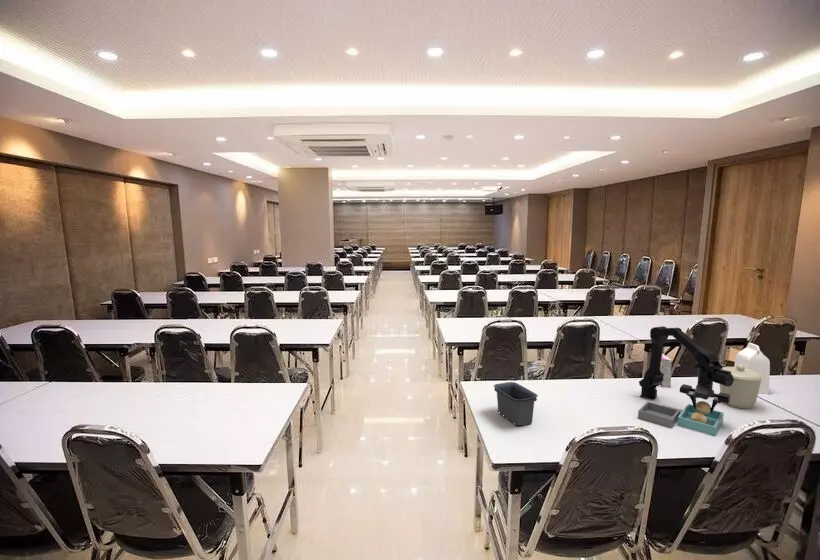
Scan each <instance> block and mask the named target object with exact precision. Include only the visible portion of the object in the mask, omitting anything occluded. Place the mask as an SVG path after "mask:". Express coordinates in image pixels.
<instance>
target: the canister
mask: <svg viewBox="0 0 820 560" xmlns="http://www.w3.org/2000/svg"><path fill="white" fill-rule="evenodd" d="M722 368H723V370H726V371H731V374H732V375H733V378H734V382H733V384H732V385H731V386H730V387H727V386H724V385H721V384H719V393H720V392H721V393H726V394H729V395H730V401H729V403H725V404H726V405H728V406H730V407H733V408H737V409H752V408H753V407H754V406H755V405H756V402H757V399H758V395H759V394H758V392H759V388H760V384H761V380H763V376H762V375H760V374H759V373H757V372H755V371H752V370H749V369H745V367H744V366H743V365H740V364H739V365H736V367H734V366H722Z"/></svg>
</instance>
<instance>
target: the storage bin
mask: <svg viewBox="0 0 820 560" xmlns="http://www.w3.org/2000/svg"><path fill="white" fill-rule="evenodd" d="M493 388H494V392H496V400H497V412H500V413H501V414H502V415H504V416H505V417H506V418H508V419H509V420H510V421H509V420H508V419H507V420H508V421H509V422H511V421H512V422H513V423H515V424H516V425H518V426H517V427H520V426H519V425H523V426H525V425H524V424H527V425H529V424H528V423H531V424H532V423H533V416H534V408H535V402H537V400H538V398H537V397H539V396H538V394H537V393H535V392H533V391H532V390H530V389H529V388H527V387H525V386H523V385H522V384H520V383H518V382H516V381H509V382H502V383H501V382H500V383H496V384H494V385H493ZM501 414H500V415H501ZM502 415H501V416H502ZM504 416H503V417H504ZM505 417H504V418H505ZM506 418H505V419H506ZM512 422H511V423H512ZM513 423H512V424H513ZM515 424H514V425H515ZM516 425H515V426H516Z"/></svg>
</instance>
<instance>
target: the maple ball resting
mask: <svg viewBox="0 0 820 560" xmlns="http://www.w3.org/2000/svg"><path fill="white" fill-rule="evenodd" d="M691 420H693V421H697V422H700V423H704V424H706V423H707V418H706V417H705V415H704V414H702V413H699V412H696V413H693V414H692V415H691Z"/></svg>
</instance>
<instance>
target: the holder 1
mask: <svg viewBox="0 0 820 560" xmlns="http://www.w3.org/2000/svg"><path fill="white" fill-rule="evenodd" d="M662 405H663V404H658V403H655V402H650V401H646V402H645V403H644V404H643V405H642V406H641V407H640V408H639V409H638V412H637V419H639V420H642V421H646V422H650V423H653V424H656V425H659V426H662V427H666V428H670V429H673V428H672V427H674V426H675V425H676V424H677V422H678V416H679V415H680V410H678V409H679V408H677V409H674V408H675V407H673V408H670V407H671V406H670V407H666V406H667V405H666V406H662Z"/></svg>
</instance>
